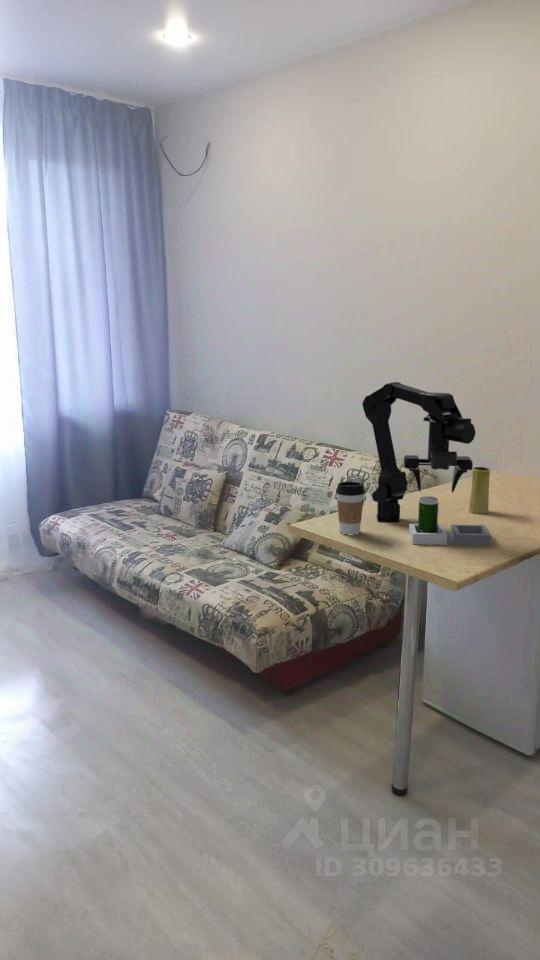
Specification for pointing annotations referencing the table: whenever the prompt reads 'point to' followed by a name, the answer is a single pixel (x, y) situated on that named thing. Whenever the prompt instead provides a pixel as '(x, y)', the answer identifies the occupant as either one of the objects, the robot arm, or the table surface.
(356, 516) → the coffee cup
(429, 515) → the beer can
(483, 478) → the vase
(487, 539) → the grey double square frame
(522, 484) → the table surface
